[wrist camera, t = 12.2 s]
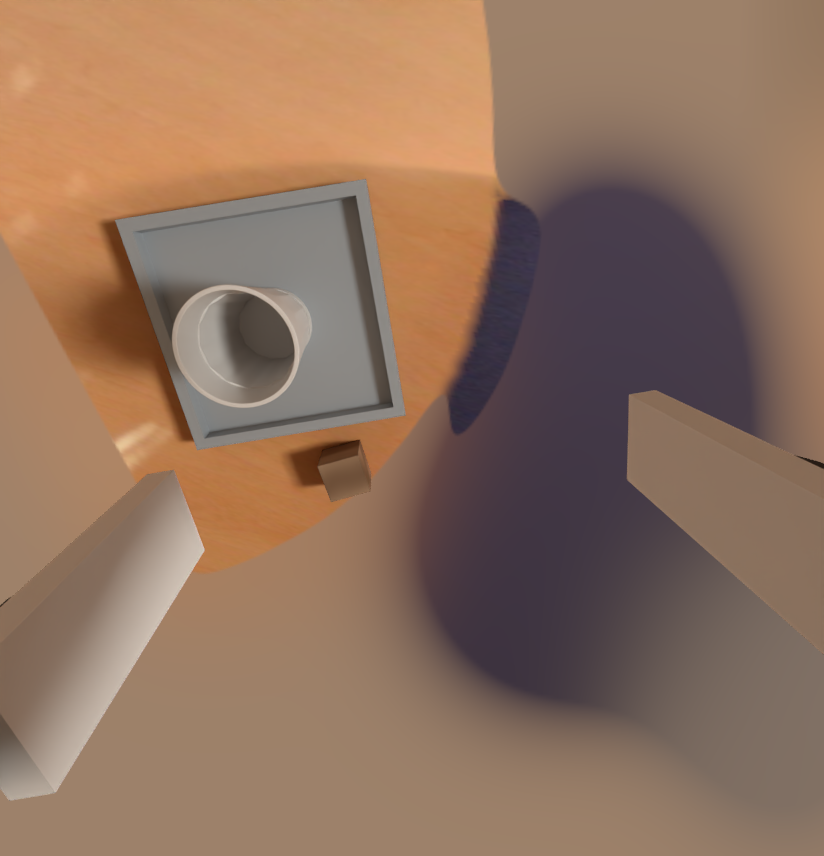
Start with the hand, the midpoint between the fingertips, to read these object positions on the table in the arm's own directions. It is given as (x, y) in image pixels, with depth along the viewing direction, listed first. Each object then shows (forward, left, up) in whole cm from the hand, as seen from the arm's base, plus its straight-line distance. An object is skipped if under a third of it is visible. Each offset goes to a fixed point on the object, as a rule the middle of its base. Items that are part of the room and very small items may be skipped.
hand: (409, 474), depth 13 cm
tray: (-2, -10, -31) cm, 32 cm away
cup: (-2, -10, -30) cm, 32 cm away
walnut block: (+13, -7, -31) cm, 34 cm away
